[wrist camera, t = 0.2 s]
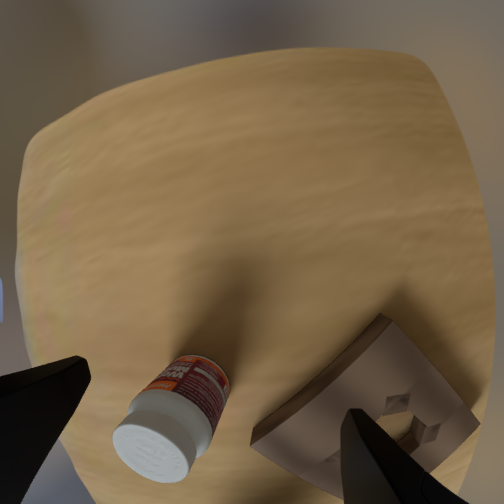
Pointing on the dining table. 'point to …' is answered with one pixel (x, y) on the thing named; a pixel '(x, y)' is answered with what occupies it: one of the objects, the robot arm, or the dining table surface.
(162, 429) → the pill bottle
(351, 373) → the socket board
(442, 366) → the dining table surface
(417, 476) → the robot arm
